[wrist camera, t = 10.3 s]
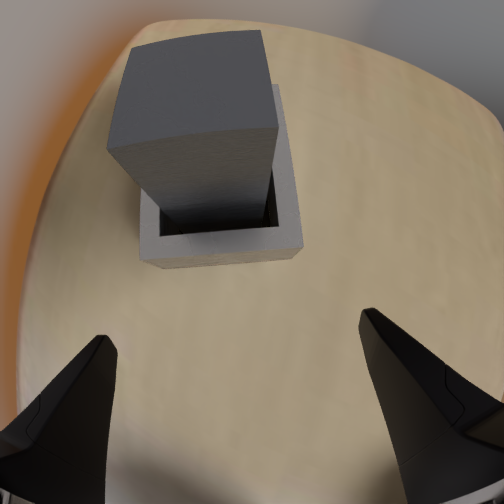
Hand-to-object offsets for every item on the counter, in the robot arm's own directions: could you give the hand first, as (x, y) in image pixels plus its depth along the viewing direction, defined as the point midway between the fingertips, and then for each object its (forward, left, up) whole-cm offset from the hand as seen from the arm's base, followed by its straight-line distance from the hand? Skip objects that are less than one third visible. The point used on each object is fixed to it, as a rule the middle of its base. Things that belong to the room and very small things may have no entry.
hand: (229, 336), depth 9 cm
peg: (+4, +7, -10) cm, 13 cm away
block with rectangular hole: (+5, +8, -10) cm, 13 cm away
